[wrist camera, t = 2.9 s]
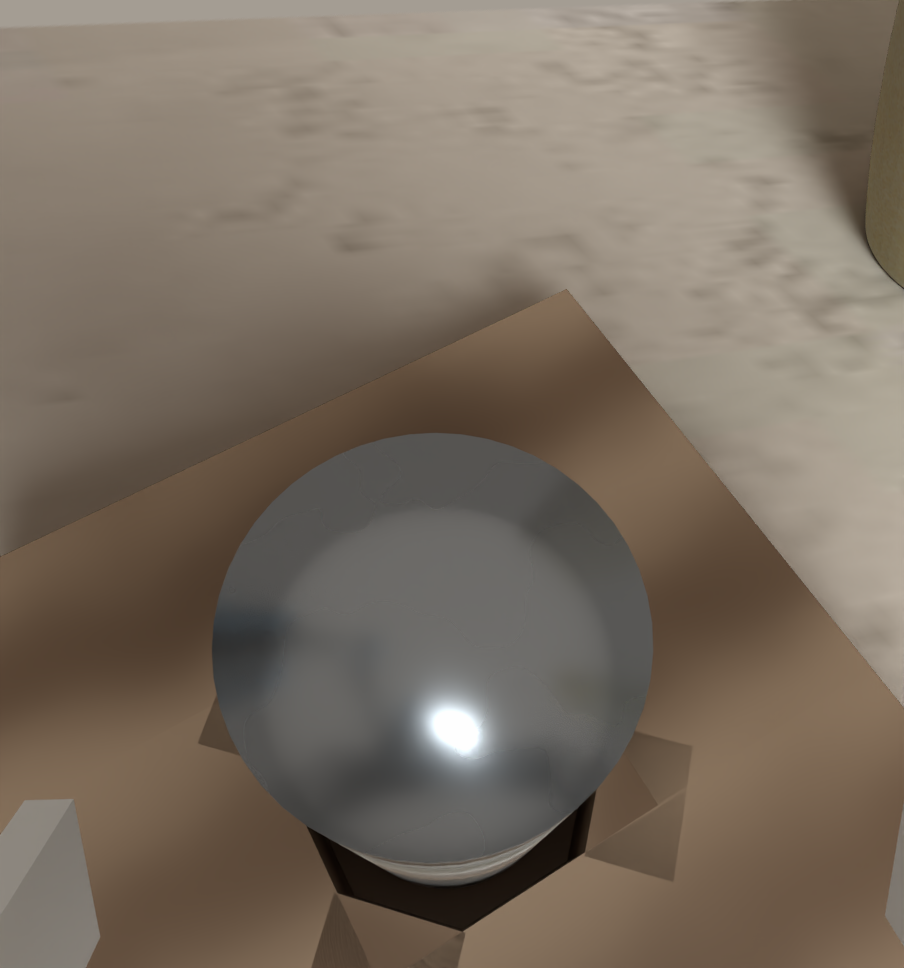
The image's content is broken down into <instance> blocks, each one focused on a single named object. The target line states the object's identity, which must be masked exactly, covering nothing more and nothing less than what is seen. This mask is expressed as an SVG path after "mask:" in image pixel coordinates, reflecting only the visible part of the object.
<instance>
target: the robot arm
mask: <svg viewBox="0 0 904 968" xmlns="http://www.w3.org/2000/svg"><path fill="white" fill-rule="evenodd" d="M885 917H886V918H887V920H888V922H889V923H890V925H891V926H892V928H893V930H894V931H895V933H896V935H897V936H898V938H899V939H900V941H901V943H902V944H903V946H904V804H903V810H902V816H901V822H900V828H899V834H898V840H897V846H896V852H895V858H894V864H893V870H892V876H891V882H890V888H889V894H888V900H887V906H886V912H885ZM99 939H100V933H99V928H98V922H97V917H96V912H95V907H94V902H93V897H92V892H91V886H90V881H89V876H88V871H87V866H86V861H85V855H84V850H83V845H82V840H81V835H80V830H79V824H78V819H77V814H76V809H75V804H74V799H53V800H25V801H24V802H23V804H22V805H21V806H20V808H19V809H18V811H17V812H16V813H15V815H14V816H13V818H12V819H11V820H10V822H9V823H8V825H7V826H6V827H5V829H4V830H3V832H2V833H1V835H0V968H86V966H87V964H88V962H89V960H90V958H91V956H92V953H93V951H94V949H95V947H96V945H97V943H98V941H99Z"/></svg>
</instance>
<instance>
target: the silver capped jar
mask: <svg viewBox="0 0 904 968" xmlns="http://www.w3.org/2000/svg"><path fill="white" fill-rule="evenodd" d="M652 659H653V632H652V619H651V613H650V608H649V602H648V596H647V593H646V590H645V586H644V583H643V580H642V577H641V574H640V570H639V568H638V566H637V564H636V562H635V559H634V557H633V555H632V553H631V551H630V549H629V546H628V545H627V543H626V541H625V540H624V538H623V537H622V535H621V533H620V532H619V530H618V529H617V527H616V525H615V524H614V522H613V521H612V520H611V519H610V518H609V516H608V515H607V514H606V513H605V511H604V510H603V509H602V508H601V507H600V505H599V504H598V503H597V502H596V501H595V500H594V499H593V498H592V497H591V496H590V495H589V494H588V493H587V492H586V491H585V490H584V489H582V488H581V487H580V486H579V485H578V484H577V483H576V482H574V481H573V480H572V479H570V478H569V477H568V476H566V475H565V474H563V473H562V472H561V471H559V470H558V469H557V468H555V467H553V466H551V465H550V464H548V463H546V462H544V461H543V460H541V459H539V458H537V457H536V456H534V455H531V454H529V453H527V452H524V451H522V450H519V449H517V448H515V447H512V446H510V445H506V444H503V443H499V442H496V441H493V440H489V439H485V438H480V437H474V436H468V435H462V434H447V433H424V434H409V435H403V436H397V437H391V438H385V439H381V440H378V441H375V442H371V443H368V444H364V445H361V446H358V447H356V448H353V449H351V450H348V451H346V452H344V453H341V454H339V455H337V456H334V457H333V458H331V459H329V460H327V461H326V462H324V463H322V464H320V465H318V466H317V467H315V468H313V469H312V470H310V471H309V472H308V473H306V474H305V475H303V476H302V477H301V478H299V479H298V480H297V481H295V482H294V483H292V484H291V485H290V486H289V487H288V488H287V489H286V490H285V491H284V492H282V493H281V494H280V495H279V496H278V497H277V498H276V499H275V500H274V501H273V502H272V503H271V504H270V505H269V506H268V507H267V509H266V510H265V511H264V512H263V513H262V515H261V516H260V517H259V518H258V519H257V520H256V522H255V523H254V524H253V526H252V527H251V529H250V530H249V532H248V534H247V535H246V537H245V538H244V540H243V541H242V543H241V544H240V546H239V548H238V550H237V552H236V554H235V556H234V558H233V560H232V562H231V564H230V566H229V568H228V571H227V574H226V577H225V579H224V582H223V585H222V588H221V591H220V594H219V598H218V603H217V608H216V613H215V618H214V624H213V638H212V663H213V678H214V683H215V688H216V693H217V698H218V702H219V707H220V710H221V713H222V716H223V718H224V721H225V724H226V727H227V729H228V732H229V735H230V737H231V739H232V741H233V742H234V744H235V746H236V748H237V750H238V752H239V754H240V756H241V758H242V759H243V761H244V763H245V764H246V765H247V767H248V768H249V769H250V771H251V772H252V774H253V775H254V776H255V778H256V779H257V780H258V782H259V783H260V785H261V786H262V787H263V788H264V789H265V790H266V791H267V792H268V793H269V794H270V795H271V796H272V797H273V798H274V799H275V800H276V801H277V802H278V803H279V804H280V805H281V806H282V807H283V808H284V809H285V810H287V811H288V812H289V813H291V814H292V815H293V816H294V817H296V818H297V819H298V820H300V821H301V822H302V823H304V824H305V825H306V826H308V827H309V828H311V829H313V830H315V831H316V832H318V833H320V834H322V835H324V836H325V837H327V838H329V839H331V840H332V841H334V842H336V843H338V844H340V845H341V846H343V847H345V848H347V849H348V850H350V851H352V852H354V853H356V854H357V855H359V856H361V857H363V858H365V859H366V860H368V861H370V862H372V863H373V864H375V865H377V866H379V867H381V868H382V869H384V870H386V871H388V872H389V873H391V874H393V875H395V876H397V877H398V878H400V879H402V880H405V881H408V882H410V883H413V884H415V885H420V886H424V887H429V888H438V889H454V888H463V887H468V886H472V885H476V884H479V883H482V882H485V881H487V880H490V879H492V878H494V877H495V876H497V875H499V874H501V873H503V872H504V871H506V870H507V869H508V868H510V867H511V866H512V865H514V864H515V863H516V862H517V861H519V860H520V859H521V858H522V857H523V856H524V855H525V854H526V853H528V852H529V851H530V850H531V849H532V848H533V847H534V846H535V845H537V844H538V843H539V842H540V841H541V840H542V839H543V838H544V837H545V836H547V835H548V834H549V833H550V832H551V831H552V830H553V829H554V828H556V827H557V826H558V825H559V824H560V823H561V822H562V821H563V820H565V819H566V818H567V817H568V816H569V815H570V814H571V813H572V812H574V811H575V810H576V809H577V808H578V807H579V806H580V805H581V804H582V803H583V802H584V801H585V800H586V799H587V798H588V797H589V796H590V795H591V794H592V793H593V792H594V791H595V790H596V789H597V788H598V787H599V786H600V785H601V784H602V782H603V781H604V780H605V778H606V777H607V776H608V774H609V773H610V772H611V770H612V769H613V768H614V767H615V765H616V764H617V763H618V761H619V759H620V757H621V756H622V754H623V752H624V750H625V749H626V747H627V745H628V743H629V742H630V740H631V738H632V736H633V734H634V731H635V729H636V726H637V724H638V721H639V719H640V716H641V713H642V711H643V708H644V704H645V700H646V696H647V692H648V688H649V684H650V679H651V669H652Z"/></svg>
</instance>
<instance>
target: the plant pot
mask: <svg viewBox="0 0 904 968" xmlns="http://www.w3.org/2000/svg"><path fill="white" fill-rule="evenodd" d="M865 229H866V235H867V240H868V243H869V245H870V248H871V250H872V252H873V254H874V256H875V257H876V259H877V260H878V262H879V264H880V265H881V266H882V268H883V269H884V270H885V271H886V272H887V273H888V274H889V275H890V276H891V278H893V279H894V280H895V281H896V282H897V283H898V284H899V285H901V286H902V287H903V288H904V0H899V4H898V8H897V12H896V17H895V21H894V26H893V31H892V35H891V40H890V44H889V49H888V54H887V59H886V64H885V69H884V75H883V80H882V86H881V92H880V97H879V103H878V109H877V115H876V122H875V128H874V135H873V143H872V151H871V158H870V168H869V178H868V188H867V202H866V217H865Z"/></svg>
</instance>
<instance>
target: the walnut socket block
mask: <svg viewBox="0 0 904 968" xmlns="http://www.w3.org/2000/svg"><path fill="white" fill-rule="evenodd" d="M424 433H447V434H462V435H468V436H474V437H480V438H485V439H489V440H493V441H496V442H499V443H503V444H506V445H510V446H512V447H515V448H517V449H519V450H522V451H524V452H527V453H529V454H531V455H534V456H536V457H537V458H539V459H541V460H543V461H544V462H546V463H548V464H550V465H551V466H553V467H555V468H557V469H558V470H559V471H561V472H562V473H563V474H565V475H566V476H568V477H569V478H570V479H572V480H573V481H574V482H576V483H577V484H578V485H579V486H580V487H581V488H582V489H584V490H585V491H586V492H587V493H588V494H589V495H590V496H591V497H592V498H593V499H594V500H595V501H596V502H597V503H598V504H599V505H600V507H601V508H602V509H603V510H604V511H605V513H606V514H607V515H608V516H609V518H610V519H611V520H612V521H613V522H614V524H615V525H616V527H617V529H618V530H619V532H620V533H621V535H622V537H623V538H624V540H625V541H626V543H627V545H628V546H629V549H630V551H631V553H632V555H633V557H634V559H635V562H636V564H637V566H638V568H639V570H640V574H641V577H642V580H643V583H644V586H645V590H646V593H647V596H648V602H649V608H650V613H651V619H652V632H653V659H652V669H651V679H650V684H649V688H648V692H647V696H646V700H645V704H644V708H643V711H642V713H641V716H640V719H639V721H638V724H637V726H636V729H635V731H634V734H633V736H632V738H631V740H630V742H629V743H628V745H627V747H626V749H625V750H624V752H623V754H622V756H621V757H620V759H619V761H618V763H617V764H616V765H615V767H614V768H613V769H612V770H611V772H610V773H609V774H608V776H607V777H606V778H605V780H604V781H603V782H602V784H601V785H600V786H599V787H598V788H597V789H596V790H595V791H594V792H593V793H592V794H591V795H590V796H589V797H588V798H587V799H586V800H585V801H584V802H583V803H582V804H581V805H580V806H579V807H578V808H577V809H576V810H575V811H574V812H572V813H571V814H570V815H569V816H568V817H567V818H566V819H565V820H563V821H562V822H561V823H560V824H559V825H558V826H557V827H556V828H554V829H553V830H552V831H551V832H550V833H549V834H548V835H547V836H545V837H544V838H543V839H542V840H541V841H540V842H539V843H538V844H537V845H535V846H534V847H533V848H532V849H531V850H530V851H529V852H528V853H526V854H525V855H524V856H523V857H522V858H521V859H520V860H519V861H517V862H516V863H515V864H514V865H512V866H511V867H510V868H508V869H507V870H506V871H504V872H503V873H501V874H499V875H497V876H495V877H494V878H492V879H490V880H487V881H485V882H482V883H479V884H476V885H472V886H468V887H463V888H454V889H438V888H429V887H424V886H420V885H415V884H413V883H410V882H408V881H405V880H402V879H400V878H398V877H397V876H395V875H393V874H391V873H389V872H388V871H386V870H384V869H382V868H381V867H379V866H377V865H375V864H373V863H372V862H370V861H368V860H366V859H365V858H363V857H361V856H359V855H357V854H356V853H354V852H352V851H350V850H348V849H347V848H345V847H343V846H341V845H340V844H338V843H336V842H334V841H332V840H331V839H329V838H327V837H325V836H324V835H322V834H320V833H318V832H316V831H315V830H313V829H311V828H309V827H308V826H306V825H305V824H304V823H302V822H301V821H300V820H298V819H297V818H296V817H294V816H293V815H292V814H291V813H289V812H288V811H287V810H285V809H284V808H283V807H282V806H281V805H280V804H279V803H278V802H277V801H276V800H275V799H274V798H273V797H272V796H271V795H270V794H269V793H268V792H267V791H266V790H265V789H264V788H263V787H262V786H261V785H260V783H259V782H258V780H257V779H256V778H255V776H254V775H253V774H252V772H251V771H250V769H249V768H248V767H247V765H246V764H245V763H244V761H243V759H242V758H241V756H240V754H239V752H238V750H237V748H236V746H235V744H234V742H233V741H232V739H231V737H230V735H229V732H228V729H227V727H226V724H225V721H224V718H223V716H222V713H221V710H220V707H219V702H218V698H217V693H216V688H215V683H214V678H213V663H212V638H213V624H214V618H215V613H216V608H217V603H218V598H219V594H220V591H221V588H222V585H223V582H224V579H225V577H226V574H227V571H228V568H229V566H230V564H231V562H232V560H233V558H234V556H235V554H236V552H237V550H238V548H239V546H240V544H241V543H242V541H243V540H244V538H245V537H246V535H247V534H248V532H249V530H250V529H251V527H252V526H253V524H254V523H255V522H256V520H257V519H258V518H259V517H260V516H261V515H262V513H263V512H264V511H265V510H266V509H267V507H268V506H269V505H270V504H271V503H272V502H273V501H274V500H275V499H276V498H277V497H278V496H279V495H280V494H281V493H282V492H284V491H285V490H286V489H287V488H288V487H289V486H290V485H291V484H292V483H294V482H295V481H297V480H298V479H299V478H301V477H302V476H303V475H305V474H306V473H308V472H309V471H310V470H312V469H313V468H315V467H317V466H318V465H320V464H322V463H324V462H326V461H327V460H329V459H331V458H333V457H334V456H337V455H339V454H341V453H344V452H346V451H348V450H351V449H353V448H356V447H358V446H361V445H364V444H368V443H371V442H375V441H378V440H381V439H385V438H391V437H397V436H403V435H409V434H424ZM53 799H74V804H75V809H76V814H77V819H78V824H79V830H80V835H81V840H82V845H83V850H84V855H85V861H86V866H87V871H88V876H89V881H90V886H91V892H92V897H93V902H94V907H95V912H96V917H97V922H98V928H99V933H100V939H99V941H98V943H97V945H96V947H95V949H94V951H93V953H92V956H91V958H90V960H89V962H88V964H87V966H86V968H904V946H903V944H902V943H901V941H900V939H899V938H898V936H897V935H896V933H895V931H894V930H893V928H892V926H891V925H890V923H889V922H888V920H887V918H886V917H885V912H886V906H887V900H888V894H889V888H890V882H891V876H892V870H893V864H894V858H895V852H896V846H897V840H898V834H899V828H900V822H901V816H902V810H903V804H904V708H903V706H902V705H901V704H900V703H899V701H898V700H897V699H896V698H895V696H894V695H893V694H892V693H891V691H890V690H889V689H888V688H887V686H886V685H885V684H884V683H883V682H882V680H881V679H880V678H879V677H878V675H877V674H876V673H875V672H874V670H873V669H872V668H871V667H870V665H869V664H868V663H867V662H866V660H865V659H864V658H863V657H862V655H861V654H860V653H859V652H858V650H857V649H856V648H855V647H854V645H853V644H852V643H851V642H850V641H849V639H848V638H847V637H846V636H845V634H844V633H843V632H842V631H841V629H840V628H839V627H838V626H837V624H836V623H835V622H834V621H833V619H832V618H831V617H830V616H829V614H828V613H827V612H826V611H825V609H824V608H823V607H822V606H821V604H820V603H819V602H818V601H817V600H816V598H815V597H814V596H813V595H812V593H811V592H810V591H809V590H808V588H807V587H806V586H805V585H804V583H803V582H802V581H801V580H800V578H799V577H798V576H797V575H796V573H795V572H794V571H793V570H792V568H791V567H790V566H789V565H788V563H787V562H786V561H785V560H784V559H783V557H782V556H781V555H780V554H779V552H778V551H777V550H776V549H775V547H774V546H773V545H772V544H771V542H770V541H769V540H768V539H767V537H766V536H765V535H764V534H763V532H762V531H761V530H760V529H759V527H758V526H757V525H756V524H755V522H754V521H753V520H752V519H751V518H750V516H749V515H748V514H747V513H746V511H745V510H744V509H743V508H742V506H741V505H740V504H739V503H738V501H737V500H736V499H735V498H734V496H733V495H732V494H731V493H730V491H729V490H728V489H727V488H726V486H725V485H724V484H723V483H722V481H721V480H720V479H719V478H718V477H717V475H716V474H715V473H714V472H713V470H712V469H711V468H710V467H709V465H708V464H707V463H706V462H705V460H704V459H703V458H702V457H701V455H700V454H699V453H698V452H697V450H696V449H695V448H694V447H693V445H692V444H691V443H690V442H689V440H688V439H687V438H686V437H685V435H684V434H683V433H682V432H681V431H680V429H679V428H678V427H677V426H676V424H675V423H674V422H673V421H672V419H671V418H670V417H669V416H668V414H667V413H666V412H665V411H664V409H663V408H662V407H661V406H660V404H659V403H658V402H657V401H656V399H655V398H654V397H653V396H652V394H651V393H650V392H649V391H648V390H647V388H646V387H645V386H644V385H643V383H642V382H641V381H640V380H639V378H638V377H637V376H636V375H635V373H634V372H633V371H632V370H631V368H630V367H629V366H628V365H627V363H626V362H625V361H624V360H623V358H622V357H621V356H620V355H619V353H618V352H617V351H616V350H615V349H614V347H613V346H612V345H611V344H610V342H609V341H608V340H607V339H606V337H605V336H604V335H603V334H602V332H601V331H600V330H599V329H598V327H597V326H596V325H595V324H594V322H593V321H592V320H591V319H590V317H589V316H588V315H587V314H586V312H585V311H584V310H583V309H582V308H581V306H580V305H579V304H578V303H577V301H576V300H575V299H574V298H573V296H572V295H571V294H570V293H569V291H568V290H567V289H566V290H564V291H562V292H559V293H557V294H555V295H553V296H551V297H549V298H547V299H545V300H542V301H540V302H538V303H536V304H534V305H532V306H530V307H528V308H526V309H523V310H521V311H519V312H517V313H515V314H513V315H511V316H509V317H506V318H504V319H502V320H500V321H498V322H496V323H494V324H492V325H490V326H487V327H485V328H483V329H481V330H479V331H477V332H475V333H473V334H471V335H468V336H466V337H464V338H462V339H460V340H458V341H456V342H454V343H451V344H449V345H447V346H445V347H443V348H441V349H439V350H437V351H435V352H432V353H430V354H428V355H426V356H424V357H422V358H420V359H418V360H415V361H413V362H411V363H409V364H407V365H405V366H403V367H401V368H399V369H396V370H394V371H392V372H390V373H388V374H386V375H384V376H382V377H380V378H377V379H375V380H373V381H371V382H369V383H367V384H365V385H363V386H360V387H358V388H356V389H354V390H352V391H350V392H348V393H346V394H344V395H341V396H339V397H337V398H335V399H333V400H331V401H329V402H327V403H324V404H322V405H320V406H318V407H316V408H314V409H312V410H310V411H308V412H305V413H303V414H301V415H299V416H297V417H295V418H293V419H291V420H289V421H286V422H284V423H282V424H280V425H278V426H276V427H274V428H272V429H269V430H267V431H265V432H263V433H261V434H259V435H257V436H255V437H253V438H250V439H248V440H246V441H244V442H242V443H240V444H238V445H236V446H233V447H231V448H229V449H227V450H225V451H223V452H221V453H219V454H217V455H214V456H212V457H210V458H208V459H206V460H204V461H202V462H200V463H198V464H195V465H193V466H191V467H189V468H187V469H185V470H183V471H181V472H178V473H176V474H174V475H172V476H170V477H168V478H166V479H164V480H162V481H159V482H157V483H155V484H153V485H151V486H149V487H147V488H145V489H142V490H140V491H138V492H136V493H134V494H132V495H130V496H128V497H126V498H123V499H121V500H119V501H117V502H115V503H113V504H111V505H109V506H107V507H104V508H102V509H100V510H98V511H96V512H94V513H92V514H90V515H87V516H85V517H83V518H81V519H79V520H77V521H75V522H73V523H71V524H68V525H66V526H64V527H62V528H60V529H58V530H56V531H54V532H51V533H49V534H47V535H45V536H43V537H41V538H39V539H37V540H35V541H32V542H30V543H28V544H26V545H24V546H22V547H20V548H18V549H16V550H13V551H11V552H9V553H7V554H5V555H3V556H1V557H0V835H1V833H2V832H3V830H4V829H5V827H6V826H7V825H8V823H9V822H10V820H11V819H12V818H13V816H14V815H15V813H16V812H17V811H18V809H19V808H20V806H21V805H22V804H23V802H24V801H25V800H53Z"/></svg>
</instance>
